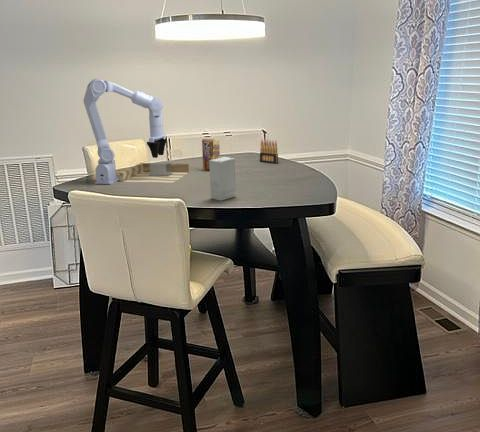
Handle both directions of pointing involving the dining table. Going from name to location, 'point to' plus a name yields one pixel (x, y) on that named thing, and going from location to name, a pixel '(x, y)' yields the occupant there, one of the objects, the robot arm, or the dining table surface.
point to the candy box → (210, 152)
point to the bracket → (160, 169)
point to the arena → (143, 175)
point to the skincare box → (222, 178)
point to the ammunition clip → (269, 152)
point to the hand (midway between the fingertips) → (158, 156)
